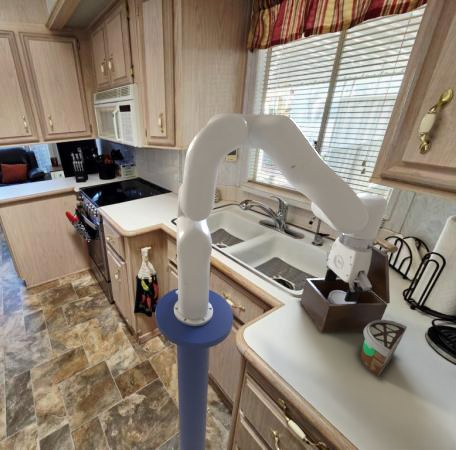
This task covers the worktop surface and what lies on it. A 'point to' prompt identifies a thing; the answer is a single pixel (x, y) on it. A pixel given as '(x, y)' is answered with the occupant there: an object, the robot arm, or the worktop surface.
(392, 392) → the worktop surface
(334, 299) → the white tapered cup
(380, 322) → the food container
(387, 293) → the chest lid
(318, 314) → the chest
